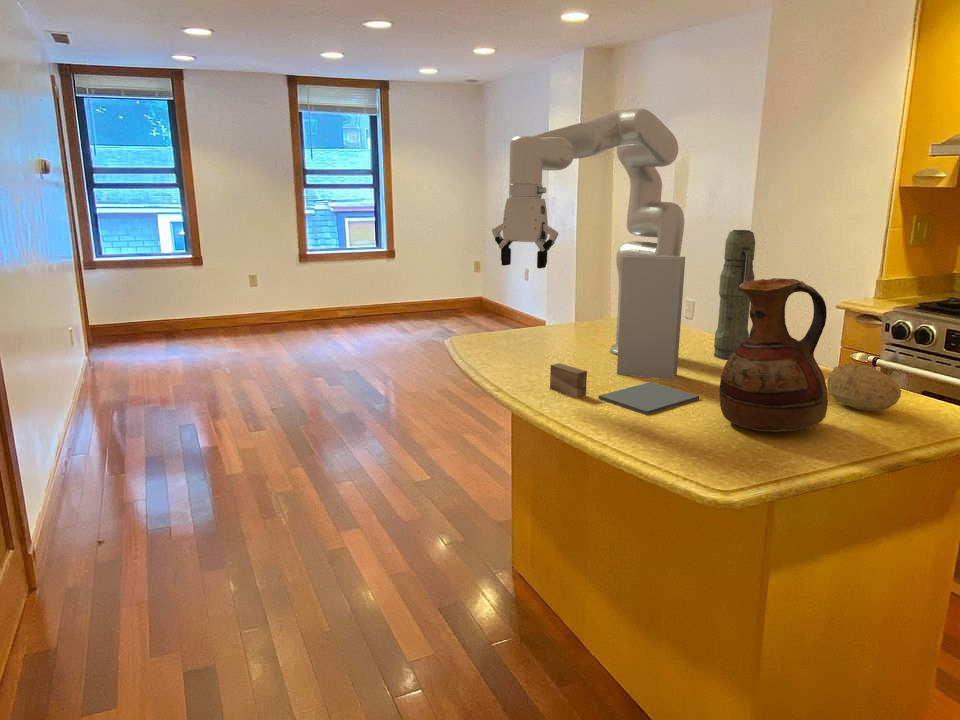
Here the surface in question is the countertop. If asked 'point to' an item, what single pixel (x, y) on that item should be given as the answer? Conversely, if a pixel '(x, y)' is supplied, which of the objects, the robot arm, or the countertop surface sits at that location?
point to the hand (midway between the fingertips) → (523, 266)
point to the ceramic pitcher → (775, 364)
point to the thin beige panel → (650, 315)
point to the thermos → (734, 293)
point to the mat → (648, 398)
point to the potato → (863, 387)
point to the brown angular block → (568, 380)
